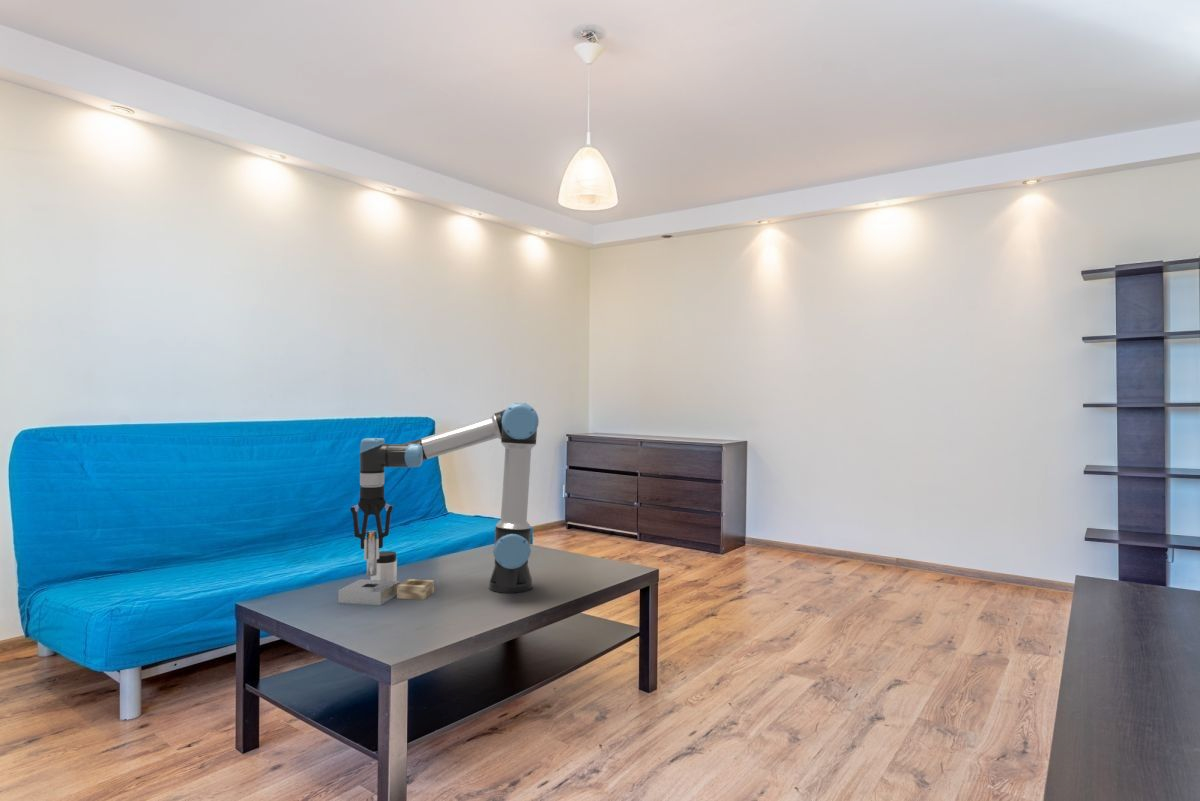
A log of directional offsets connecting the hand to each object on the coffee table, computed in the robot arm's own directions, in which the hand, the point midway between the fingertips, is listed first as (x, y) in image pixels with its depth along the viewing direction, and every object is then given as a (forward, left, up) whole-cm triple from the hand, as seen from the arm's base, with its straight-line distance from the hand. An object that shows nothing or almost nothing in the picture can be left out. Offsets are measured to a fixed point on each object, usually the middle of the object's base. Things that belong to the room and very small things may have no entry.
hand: (371, 558), depth 217 cm
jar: (+3, -16, -14) cm, 21 cm away
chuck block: (0, 0, -14) cm, 14 cm away
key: (0, 0, -5) cm, 5 cm away
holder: (-13, -6, -14) cm, 20 cm away
